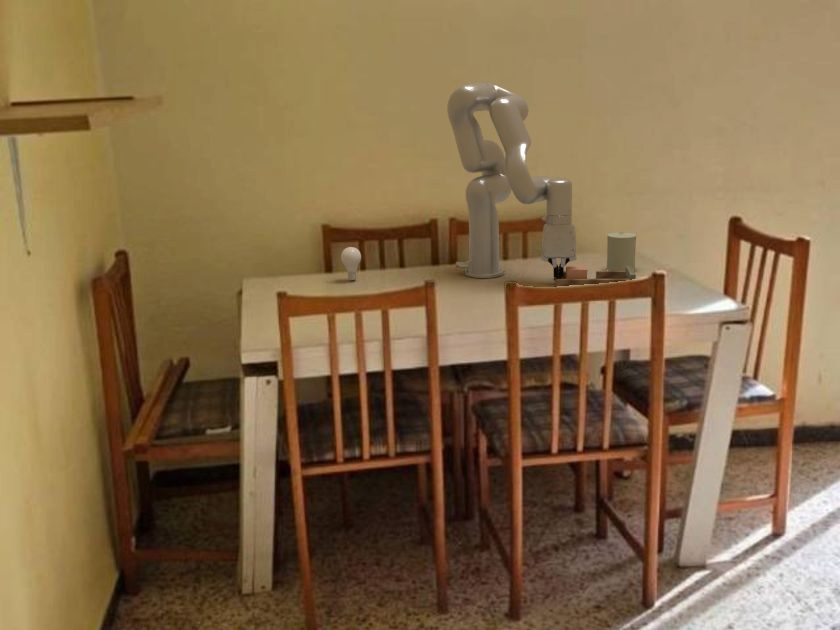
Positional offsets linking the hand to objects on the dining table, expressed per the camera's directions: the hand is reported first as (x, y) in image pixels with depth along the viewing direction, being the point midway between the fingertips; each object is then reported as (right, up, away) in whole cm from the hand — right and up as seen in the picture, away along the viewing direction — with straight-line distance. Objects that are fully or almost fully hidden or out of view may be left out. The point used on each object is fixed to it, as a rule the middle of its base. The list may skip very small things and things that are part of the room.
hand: (558, 279), depth 274 cm
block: (+6, -1, 0) cm, 6 cm away
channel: (+10, -1, -1) cm, 10 cm away
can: (+23, +3, +16) cm, 28 cm away
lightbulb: (-64, 0, +12) cm, 65 cm away
